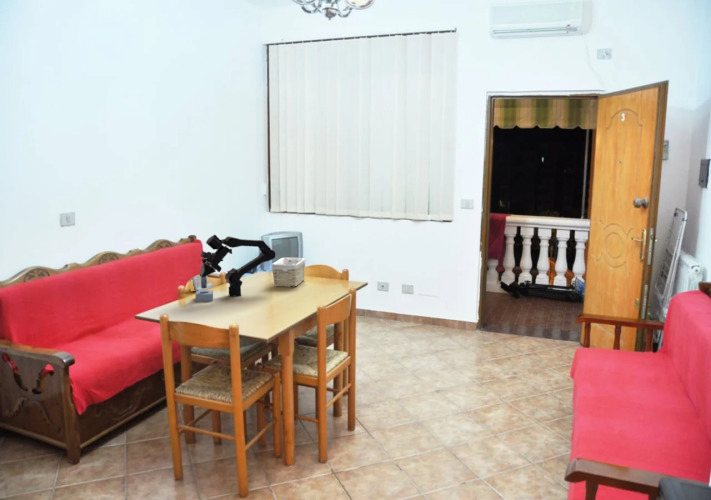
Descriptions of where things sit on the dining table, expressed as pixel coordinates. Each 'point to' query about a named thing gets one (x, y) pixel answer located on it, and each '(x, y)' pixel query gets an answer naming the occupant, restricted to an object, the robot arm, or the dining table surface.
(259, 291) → the dining table surface
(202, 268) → the peg
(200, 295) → the hole block
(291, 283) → the storage basket
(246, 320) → the dining table surface
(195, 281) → the hinge
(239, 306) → the dining table surface
